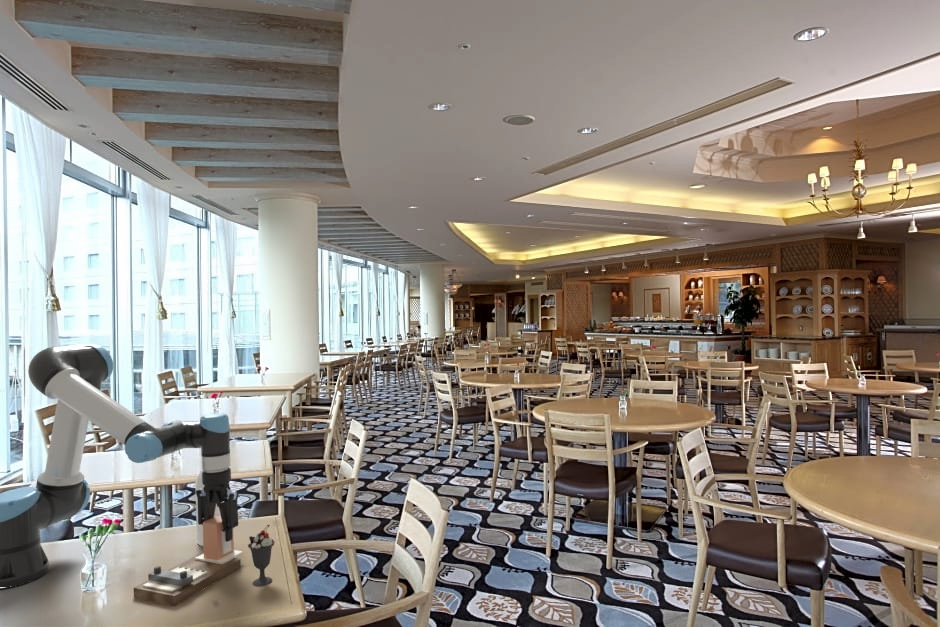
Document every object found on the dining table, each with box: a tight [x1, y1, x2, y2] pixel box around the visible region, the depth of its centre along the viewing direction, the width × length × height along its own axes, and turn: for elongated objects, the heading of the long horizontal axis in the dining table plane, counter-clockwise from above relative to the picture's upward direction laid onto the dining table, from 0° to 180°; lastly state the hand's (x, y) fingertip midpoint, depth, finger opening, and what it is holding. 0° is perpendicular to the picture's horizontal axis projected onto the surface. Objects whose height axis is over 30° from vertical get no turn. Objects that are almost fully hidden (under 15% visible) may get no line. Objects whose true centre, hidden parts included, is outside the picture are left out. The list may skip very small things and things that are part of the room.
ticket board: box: [133, 552, 242, 607], centre depth 154 cm, size 14×22×6 cm, turn 159°
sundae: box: [247, 524, 275, 587], centre depth 153 cm, size 7×7×15 cm
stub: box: [195, 515, 244, 564], centre depth 164 cm, size 10×8×10 cm
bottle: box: [194, 469, 222, 547], centre depth 181 cm, size 8×8×30 cm
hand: (218, 550), depth 164 cm, fingers closed on stub, 5 cm apart
